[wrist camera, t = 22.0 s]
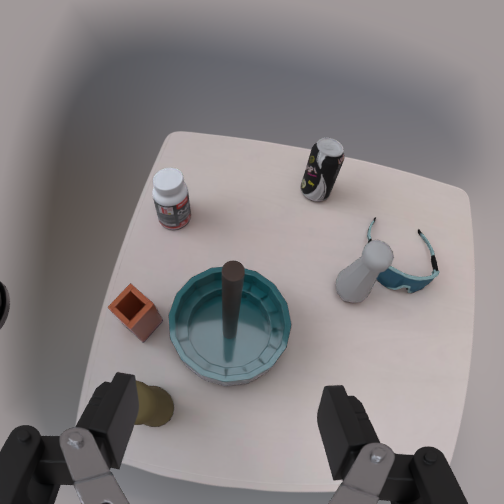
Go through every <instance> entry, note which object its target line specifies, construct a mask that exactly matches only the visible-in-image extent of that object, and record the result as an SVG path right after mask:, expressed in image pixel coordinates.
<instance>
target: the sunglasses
mask: <svg viewBox="0 0 504 504" xmlns="http://www.w3.org/2000/svg"><path fill="white" fill-rule="evenodd" d="M375 219H376V217H375V218H374V220H373V222H372V223H371V225H370V227H369V229H368V234H367V237H368V243H369V242H371V241H372V239H371V236H370V231H371V227H372V225H373V223H374V222H375ZM418 233H419V235H420V236H421V237H422V239H423V240H424V241H425V243H426V244H427V246H428V248H429V250H430V253H431V263H432V267H433V271H432V275H431V276H427V277H416V276H412V275H408V274H405V273H403V272H401V271H399V270H397V269H395V268H394V267H392V266H390V267H389V268H388V269H386V270H385V271H384V272H380V273H379V275H378V277H377V280H378V281H379V282H380V283H381V284H382V285H384V286H385V287H387V288H389V289H393V290H397V289H400V288H403V287H405V288H406V290H407V289H408V293H413V292H416V291H418V290H421V289H423V288H424V287H425V286H426V285H428V284H429V283H430V282H431V281H432V280H433V279H434V278H435V277H436V276H438V274H439V271H438V266H437V261H436V258H435V254H434V250H433V249H432V247H431V245H430V243H429V241H428V240H427V239H426V237H425V236H424V235H423V234H422V232H421V231H420V230H419V229H418Z"/></svg>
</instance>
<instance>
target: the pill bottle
mask: <svg viewBox="0 0 504 504" xmlns="http://www.w3.org/2000/svg"><path fill="white" fill-rule="evenodd" d="M153 185H154V188H153V193H152V194H153V199H154V203H155V207H156V211H157V215H158V219H159V222H160V223H161V225H162V226H163V227H165V228H167V229H173V230H174V229H179V228H182V227H183V226H185V225H186V224H187V223H188V221H189V220H190V216H191V212H190V203H189V195H188V188H187V185H186V183H185V182H184V178H183V174H182V173H181V171H180V170H178V169H176V168H165V169H162V170H160V171H159V172H157V173H156V174H155V176H154V178H153Z"/></svg>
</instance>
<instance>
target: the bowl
mask: <svg viewBox="0 0 504 504" xmlns="http://www.w3.org/2000/svg"><path fill="white" fill-rule="evenodd" d="M244 269H245V268H244ZM290 329H291V320H290V315H289V310H288V305H287V302H286V301H285V299H284V298H283V296H282V295H281V293H280V292H279V290H278V289H277V287H276V286H275V285H274V284H273V283H272V282H271V281H269V280H268V279H266V278H265V277H263V276H262V275H261V274H259V273H258V272H256V271H252V270H248V269H245V275H244V282H243V290H242V297H241V304H240V312H239V319H238V327H237V334H236V336H235V337H234V338H232V339H227V338H225V337H224V335H223V325H222V267H216V268H210V269H208V270H206V271H204V272H202V273H200V274H198V275H196V276H194V277H192V278H191V279H190V280H189V281H188V282H187V283H186V284H185V285H184V286H183V287H182V288H181V290H180V291H179V292H178V293H177V294H176V296H175V299H174V302H173V304H172V307H171V310H170V313H169V330H170V339H171V341H172V343H173V345H174V347H175V349H176V351H177V352H178V354H179V356H180V358H181V360H182V361H183V362H184V364H185V365H186V366H187V367H188V368H189V369H190V370H191V371H193V372H194V373H195V374H196V375H198V376H199V377H200V378H201V379H203V380H205V381H208V382H212V383H215V384H219V385H223V386H232V385H241V384H247V383H250V382H252V381H253V380H255V379H257V378H259V377H260V376H262V375H264V374H265V373H267V372H268V371H269V370H270V369H271V367H272V366H273V365H274V364H275V362H276V361H277V360H278V358H279V357H280V356H281V354H282V353H283V352H284V350H285V349H286V347H287V343H288V338H289V334H290Z"/></svg>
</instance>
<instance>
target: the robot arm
mask: <svg viewBox="0 0 504 504" xmlns="http://www.w3.org/2000/svg"><path fill="white" fill-rule="evenodd" d="M1 302H2V299H1V293H0V309H1ZM138 411H139V399H138V392H137V386H136V380H135V376H134V375H132V374H125V373H119V372H117V373H116V374H115V376H114V378H113V380H112V382H111V383H110V382H104V383H102V384H101V385H100V386H99V387H97V388H96V390H95V392H94V394H93V395H92V398H91V399H90V401H89V404H88V405H87V406H86V408H85V410H84V412H83V414H82V416H81V418H80V419H79V421H78V423H77V425H76V427H73V428H69V429H67V430H65V431H64V432H63V433H62V434H61V436H41V435H40V433H39V431H38V430H37V429H36V428H34V427H32V426H29V425H23V426H19V427H17V428H15V429H14V430H13V431H12V432H11V434H10V435H9V437H8V439H7V440H6V442H5V444H4V446H3V447H2V449H1V451H0V504H54V503H55V500H56V497H57V494H58V491H59V488H60V485H74V488H75V490H76V492H77V495H78V497H79V499H80V502H81V504H129V502H128V500H127V498H126V497H125V495H124V493H123V492H122V490H121V488H120V486H119V485H118V483H117V481H116V479H115V478H114V476H113V474H112V472H110V468H116V469H120V465H121V462H122V459H123V456H124V453H125V450H126V447H127V444H128V441H129V438H130V436H131V433H132V430H133V427H134V424H135V421H136V418H137V415H138ZM317 423H318V427H319V430H320V434H321V438H322V441H323V445H324V448H325V452H326V455H327V459H328V462H329V466H330V470H331V473H332V477H333V480H343V482H342V483H341V484H340V486H339V487H338V489H337V491H336V492H335V494H334V495H333V497H332V498H331V500H330V502H329V503H328V504H377V502H378V500H386V501H391V504H468V502H467V500H466V498H465V496H464V495H463V492H462V490H461V488H460V486H459V484H458V482H457V480H456V478H455V476H454V474H453V472H452V470H451V468H450V466H449V464H448V462H447V460H446V458H445V456H444V455H443V453H442V452H441V451H440V450H438V449H436V448H434V447H422V448H420V449H418V450H417V451H416V453H415V454H414V455H404V454H395V453H394V452H393V450H392V449H391V448H390V447H388V446H387V445H385V444H382V443H380V441H379V439H378V437H377V435H376V432H375V430H374V428H373V426H372V424H371V422H370V420H369V417H368V415H367V413H366V412H365V409H364V407H363V405H362V403H361V402H360V401H359V400H358V399H357V398H356V397H355V396H348V395H347V393H346V391H345V388H344V386H343V385H335V386H325V387H324V390H323V394H322V397H321V401H320V405H319V409H318V413H317Z"/></svg>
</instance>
